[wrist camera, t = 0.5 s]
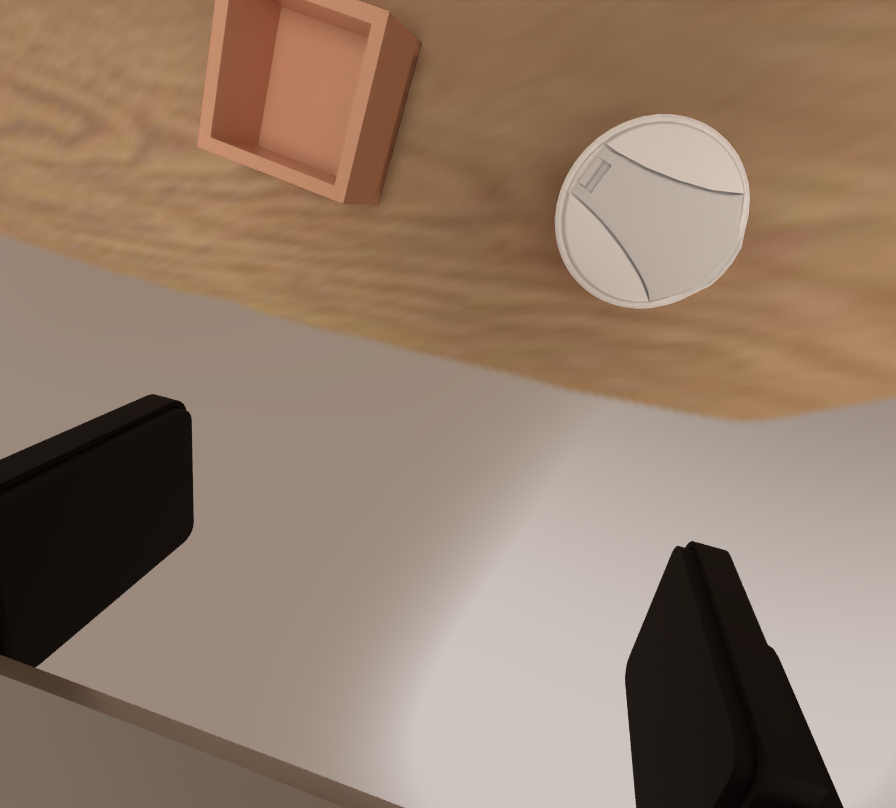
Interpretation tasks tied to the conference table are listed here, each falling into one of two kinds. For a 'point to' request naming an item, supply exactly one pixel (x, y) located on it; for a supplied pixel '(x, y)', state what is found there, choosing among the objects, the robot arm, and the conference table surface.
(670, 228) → the paper cup
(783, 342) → the conference table surface
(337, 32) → the open box
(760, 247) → the conference table surface
